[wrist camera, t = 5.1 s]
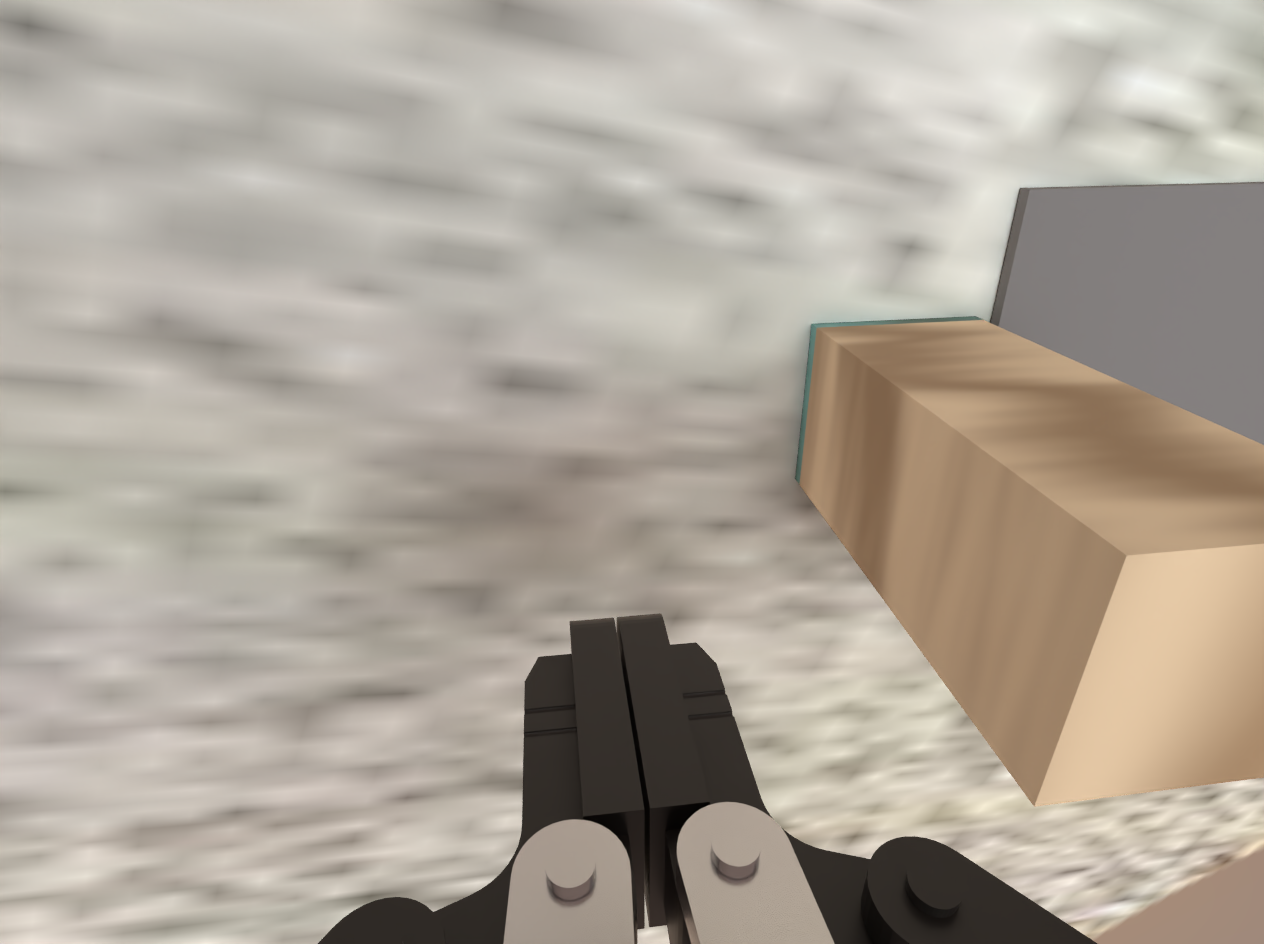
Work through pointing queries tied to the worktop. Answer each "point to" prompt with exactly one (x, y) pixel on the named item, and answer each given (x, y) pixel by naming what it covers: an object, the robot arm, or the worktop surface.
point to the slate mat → (1147, 290)
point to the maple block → (1049, 549)
